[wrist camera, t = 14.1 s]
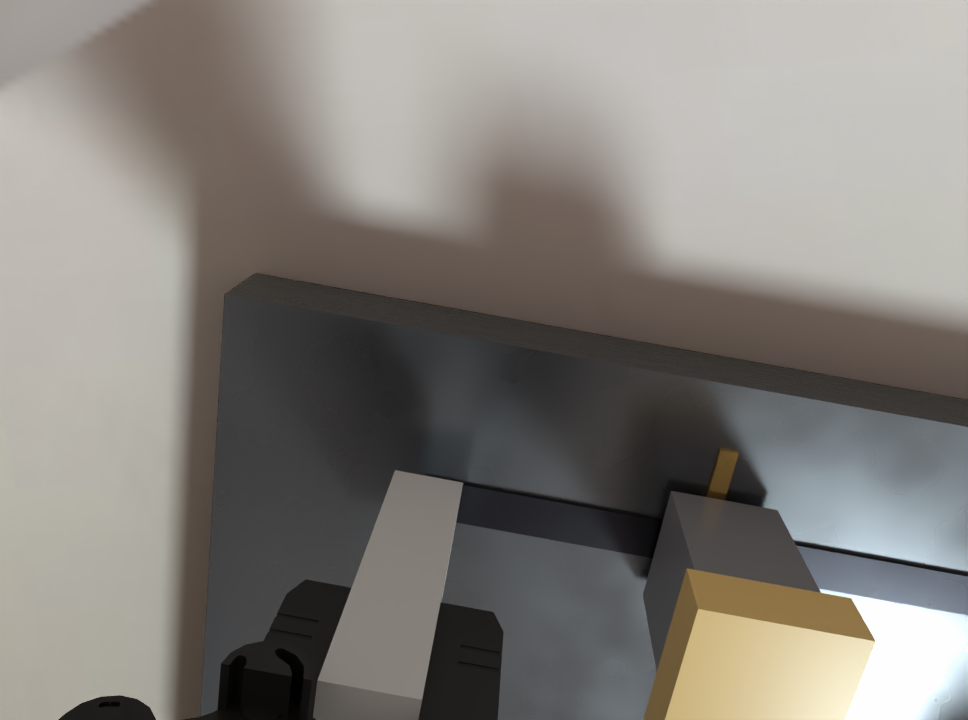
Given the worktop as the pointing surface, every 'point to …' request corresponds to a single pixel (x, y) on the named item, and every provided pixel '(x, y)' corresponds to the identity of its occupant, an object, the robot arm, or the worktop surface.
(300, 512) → the console
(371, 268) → the worktop surface
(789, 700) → the fader
